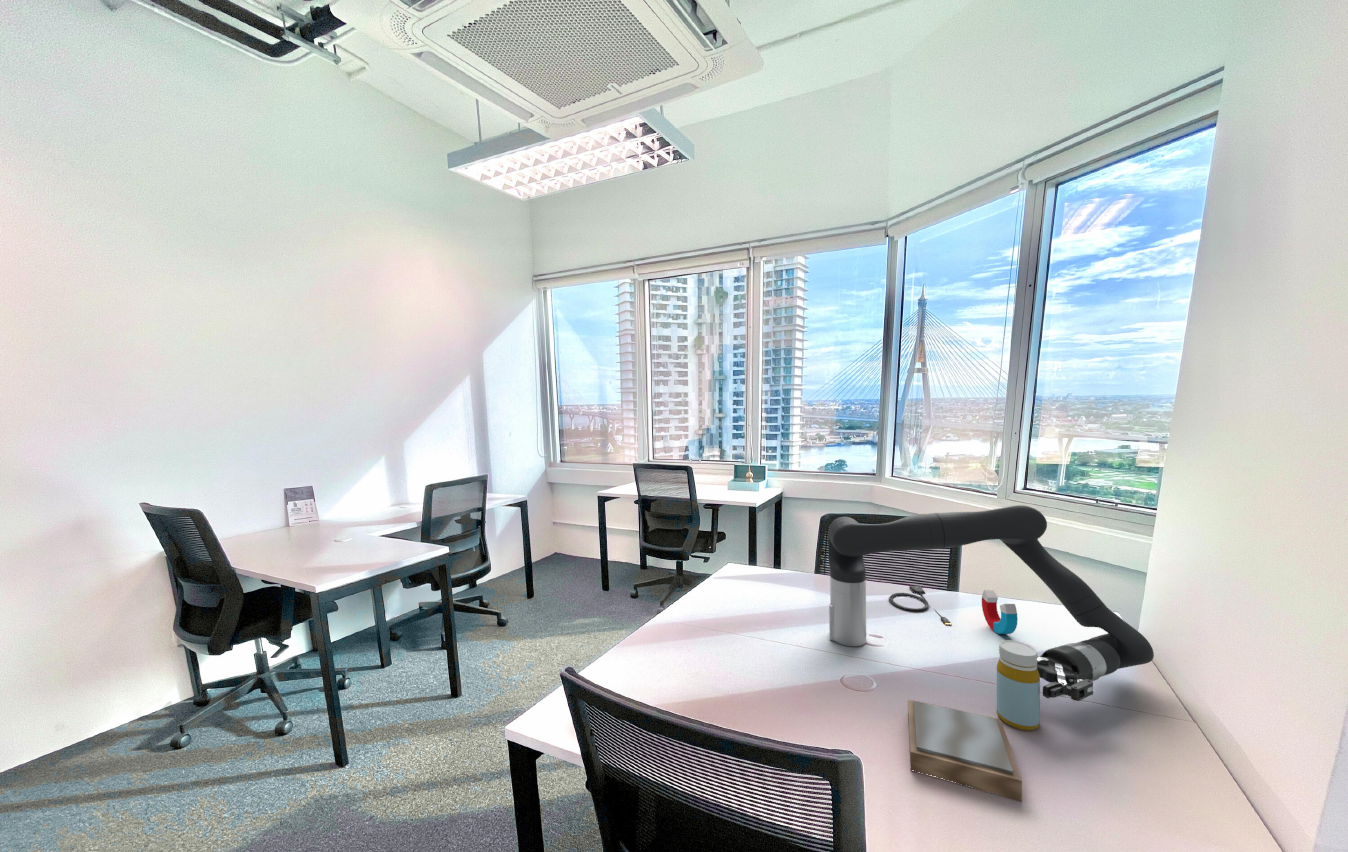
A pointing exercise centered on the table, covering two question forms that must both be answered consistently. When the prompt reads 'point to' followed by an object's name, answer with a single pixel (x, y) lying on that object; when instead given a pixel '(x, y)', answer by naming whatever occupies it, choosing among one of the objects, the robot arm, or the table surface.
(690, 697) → the table surface
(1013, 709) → the bottle
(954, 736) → the plinth
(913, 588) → the cable
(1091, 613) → the robot arm
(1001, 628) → the magnet
